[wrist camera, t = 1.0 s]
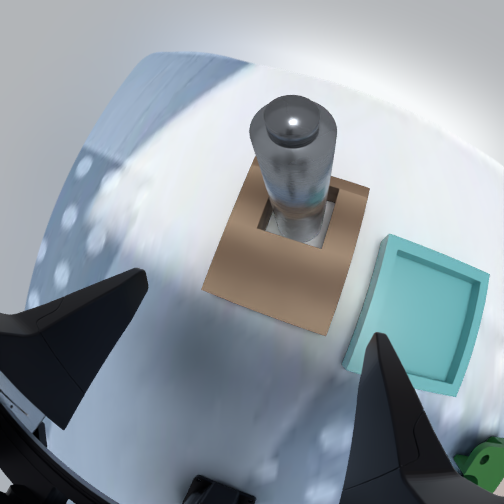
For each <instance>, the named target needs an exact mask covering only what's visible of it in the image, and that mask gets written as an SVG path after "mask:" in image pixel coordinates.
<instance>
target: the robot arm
mask: <svg viewBox="0 0 504 504" xmlns="http://www.w3.org/2000/svg"><path fill="white" fill-rule="evenodd" d="M147 291H148V281H147V276H146V272H145V271H144V270H143V269H140V268H133V269H131V270H128V271H126V272H123V273H121V274H118V275H115V276H113V277H110V278H108V279H105V280H103V281H100V282H98V283H95V284H93V285H91V286H88V287H86V288H83V289H81V290H78V291H76V292H73V293H71V294H69V295H66V296H65V297H61V298H59V299H57V300H54V301H52V302H49V303H47V304H44V305H41V306H38V307H35V308H32V309H29V310H26V311H23V312H20V313H18V314H13V315H8V314H2V313H0V468H1V470H2V471H3V472H4V473H5V475H6V476H7V477H8V478H9V479H10V481H11V482H12V483H13V485H11V486H10V487H9V489H8V491H7V492H6V493H3V492H1V491H0V504H66V502H67V501H68V499H70V500H71V501H73V502H74V503H75V504H119V503H117V502H116V501H114V500H113V499H111V498H109V497H108V496H106V495H105V494H103V493H102V492H100V491H99V490H98V489H96V488H95V487H93V486H92V485H91V484H89V483H88V482H87V481H85V480H84V479H83V478H81V477H80V476H79V475H77V474H76V473H75V472H74V471H72V470H71V469H70V468H69V467H68V466H66V465H65V464H64V463H63V462H62V461H60V460H59V459H58V458H57V457H56V456H55V455H54V454H53V453H52V452H50V451H49V450H48V449H47V441H46V433H45V424H44V423H43V422H42V421H43V419H44V418H45V417H46V416H47V417H48V418H49V419H50V420H51V421H53V422H54V423H55V424H56V425H57V426H59V427H60V428H61V429H62V430H65V428H66V427H67V425H68V423H69V421H70V419H71V418H72V416H73V414H74V412H75V410H76V409H77V407H78V405H79V403H80V402H81V400H82V398H83V397H84V395H85V393H86V391H87V390H88V388H89V386H90V385H91V383H92V381H93V380H94V378H95V376H96V375H97V373H98V371H99V370H100V368H101V367H102V365H103V363H104V362H105V360H106V359H107V357H108V355H109V354H110V352H111V351H112V349H113V348H114V346H115V344H116V343H117V341H118V340H119V338H120V337H121V335H122V334H123V332H124V331H125V329H126V328H127V326H128V325H129V323H130V322H131V320H132V318H133V317H134V315H135V313H136V311H137V309H138V307H139V305H140V304H141V302H142V300H143V298H144V296H145V294H146V293H147ZM423 409H424V408H423V406H422V404H421V402H420V400H419V398H418V395H417V393H416V391H415V389H414V387H413V385H412V383H411V381H410V379H409V377H408V375H407V373H406V371H405V369H404V367H403V365H402V363H401V361H400V359H399V357H398V355H397V353H396V351H395V349H394V347H393V346H392V344H391V342H390V340H389V338H388V336H387V335H386V334H385V333H381V332H375V333H374V334H373V336H372V338H371V340H370V341H369V343H368V345H367V347H366V350H365V355H364V361H363V367H362V372H361V377H360V382H359V388H358V395H357V405H356V414H355V422H354V430H353V437H352V443H351V450H350V455H349V461H348V466H347V472H346V477H345V481H344V486H343V491H342V494H341V498H340V502H339V504H504V497H501V496H497V495H495V494H493V493H491V492H489V491H487V490H485V489H483V488H481V487H479V486H478V485H476V484H474V483H472V482H470V481H469V480H467V479H465V478H463V477H462V476H461V475H459V474H458V473H457V471H456V470H455V469H454V467H453V466H452V464H451V462H450V460H449V458H448V456H447V454H446V453H445V451H444V449H443V447H442V445H441V443H440V442H439V440H438V438H437V436H436V434H435V432H434V430H433V428H432V426H431V424H430V421H429V419H428V417H427V415H426V413H425V411H424V410H423ZM198 479H200V480H201V481H200V480H198ZM250 500H252V501H250ZM255 501H256V498H255V497H253V496H250V495H247V494H245V493H242V492H239V491H236V490H234V489H231V488H229V487H226V486H224V485H221V484H219V483H216V482H214V481H212V480H209V479H207V478H205V477H203V476H200V475H197V476H196V477H195V478H194V480H193V482H192V484H191V486H190V488H189V491H188V493H187V495H186V497H185V499H184V501H183V503H182V504H254V503H255Z"/></svg>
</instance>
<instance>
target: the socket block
mask: <svg viewBox="0 0 504 504" xmlns="http://www.w3.org/2000/svg"><path fill="white" fill-rule="evenodd" d="M369 190H370V188H367V187H364V186H361V185H358V184H355V183H352V182H349V181H346V180H343V179H339V178H336V177H333V176H331V178H330V184H329V190H328V196H327V200H328V201H331V202H334V203H335V207H334V210H333V213H332V217H331V220H330V223H329V227H328V230H327V233H326V236H325V240H324V243H323V246H322V249H319V248H316V247H313V246H310V245H307V244H304V243H301V242H298V241H295V240H292V239H289V238H285V237H282V236H279V235H276V234H273V233H270V232H267V231H265V230H266V227H267V224H268V222H269V219H270V216H271V214H272V211H273V208H272V205H271V202H270V198H269V195H268V192H267V189H266V186H265V182H264V179H263V176H262V173H261V170H260V167H259V163H258V160H257V157H256V156H255V158H254V160H253V163H252V165H251V167H250V170H249V172H248V174H247V177H246V179H245V181H244V184H243V186H242V188H241V191H240V193H239V196H238V198H237V200H236V203H235V205H234V208H233V210H232V212H231V215H230V217H229V220H228V222H227V225H226V227H225V230H224V232H223V235H222V237H221V240H220V242H219V245H218V247H217V250H216V252H215V255H214V257H213V260H212V263H211V265H210V268H209V270H208V273H207V275H206V278H205V281H204V283H203V286H202V289H201V290H203V291H206V292H208V293H211V294H213V295H215V296H218V297H220V298H223V299H225V300H228V301H231V302H233V303H236V304H238V305H241V306H243V307H246V308H249V309H251V310H254V311H256V312H259V313H262V314H264V315H267V316H270V317H273V318H275V319H278V320H281V321H284V322H286V323H289V324H292V325H295V326H298V327H301V328H303V329H306V330H309V331H312V332H315V333H318V334H321V335H324V336H326V335H327V332H328V329H329V326H330V324H331V321H332V318H333V315H334V313H335V310H336V307H337V304H338V301H339V298H340V295H341V292H342V289H343V286H344V283H345V280H346V276H347V273H348V270H349V267H350V263H351V260H352V256H353V253H354V250H355V246H356V242H357V239H358V235H359V231H360V227H361V224H362V220H363V216H364V212H365V207H366V203H367V199H368V195H369Z"/></svg>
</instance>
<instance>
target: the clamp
mask: <svg viewBox="0 0 504 504" xmlns="http://www.w3.org/2000/svg"><path fill="white" fill-rule="evenodd" d="M454 461H455V462H456V464H457V465H458V467H459V468H460V470H461V472H462V473H463V475H464V477H463V478H465V479H467V480H469V481H470V482H472V483H474V484H476V485H478V486H479V487H481V488H483V489H485V490H487V491H489V492H491V493H493V492H494V491H495V489H496V488H497V487H498V485H499V484H500V482H501V481H502V479H503V478H504V438H499V437H490V438H489V439H488V440H487V441H486V442H484V443H481V444H479V445H478V446H477V447H476V448H475V449H474V450H473V451H472V452H471V454H470V456H463V455H455V457H454Z"/></svg>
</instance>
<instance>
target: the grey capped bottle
mask: <svg viewBox="0 0 504 504" xmlns="http://www.w3.org/2000/svg"><path fill="white" fill-rule="evenodd" d="M249 133H250V139H251V142H252V145H253V148H254V151H255V154H256V157H257V160H258V163H259V167H260V170H261V173H262V176H263V179H264V182H265V186H266V189H267V192H268V195H269V198H270V202H271V205H272V208H273V212H274V215H275V218H276V221H277V225H278V228H279V230H280V232H281V233H282V235H283V236H284V237H285V238H289V239H292V240H295V241H298V242H301V243H302V242H307V241H310V240H312V239H313V238H315V237H316V236H317V235H318V233H319V232H320V230H321V227H322V223H323V218H324V212H325V207H326V201H327V196H328V190H329V184H330V178H331V171H332V165H333V158H334V152H335V144H336V137H337V127H336V123H335V120H334V118H333V117H332V115H331V114H330V113H329V112H328V111H327V110H326V109H325V108H324V107H323V106H321V105H319V104H318V103H315V102H313V101H311V100H309V99H308V98H305V97H302V96H298V95H286V96H281V97H278V98H276V99H274V100H273V101H271V102H270V103H269V104H267V105H266V106H264V107H263V108H261V109H260V110H259V111H258V112H257V113H256V115H255V116H254V118H253V119H252V121H251V124H250V130H249Z"/></svg>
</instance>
